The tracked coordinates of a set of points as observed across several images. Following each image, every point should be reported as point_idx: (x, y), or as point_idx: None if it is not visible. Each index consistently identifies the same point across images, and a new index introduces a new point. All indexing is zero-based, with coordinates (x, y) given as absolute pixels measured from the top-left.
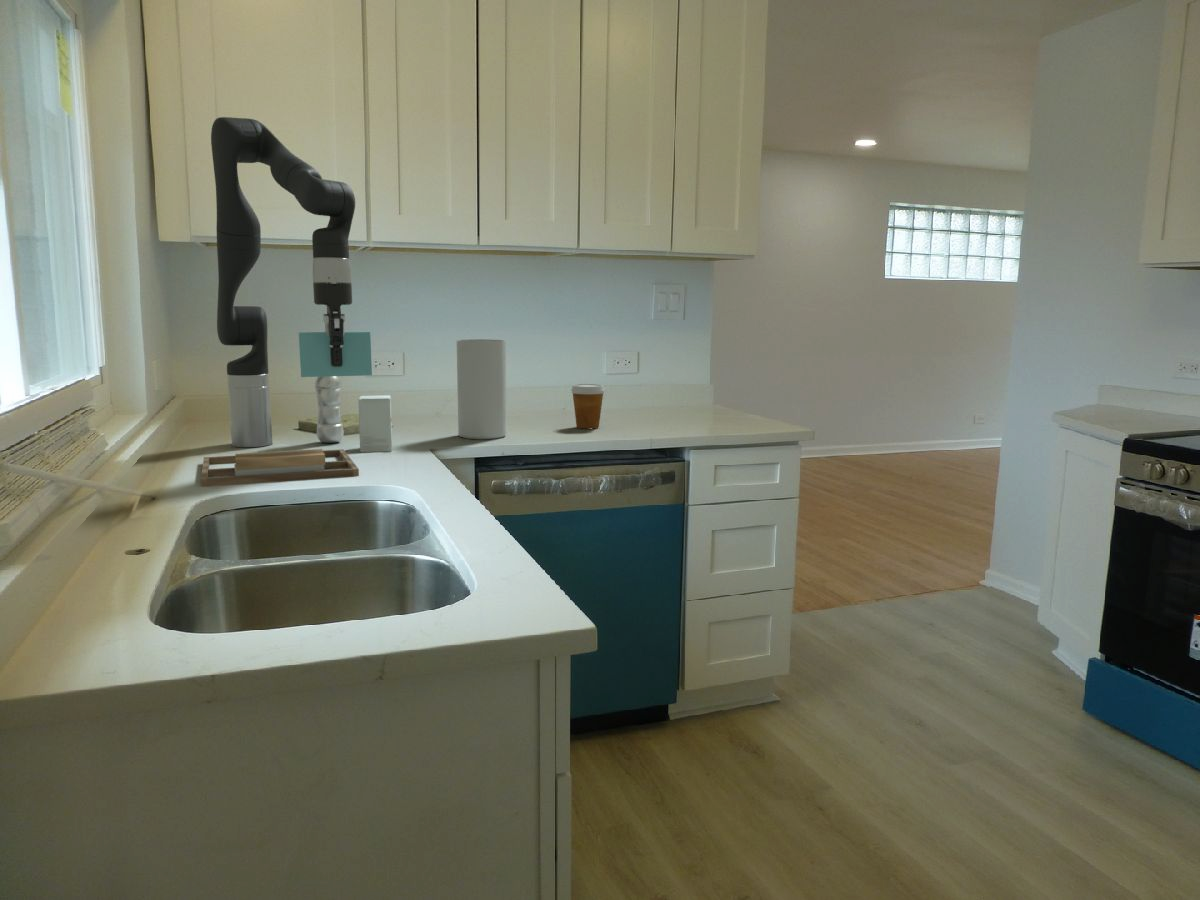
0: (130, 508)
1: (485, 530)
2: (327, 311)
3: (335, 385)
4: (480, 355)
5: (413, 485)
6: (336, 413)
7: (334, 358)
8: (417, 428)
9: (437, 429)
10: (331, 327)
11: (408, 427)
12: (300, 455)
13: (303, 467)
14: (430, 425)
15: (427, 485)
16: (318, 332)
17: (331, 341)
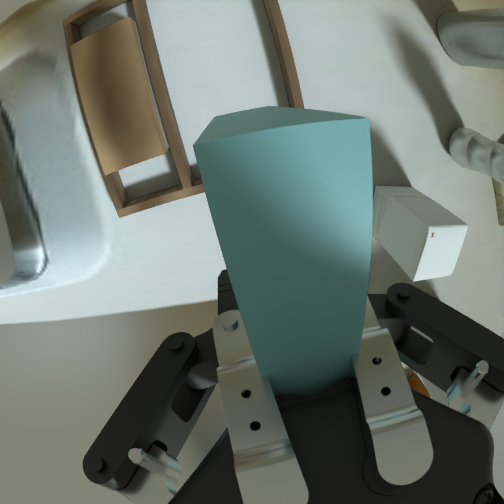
0: (23, 6)
1: (7, 318)
2: (430, 493)
3: None
4: (445, 403)
5: (111, 276)
6: (480, 168)
7: (218, 290)
8: (489, 250)
9: (475, 271)
10: (106, 431)
11: (497, 241)
12: (96, 135)
13: None
14: (494, 262)
15: (114, 289)
16: (249, 337)
17: (155, 356)
